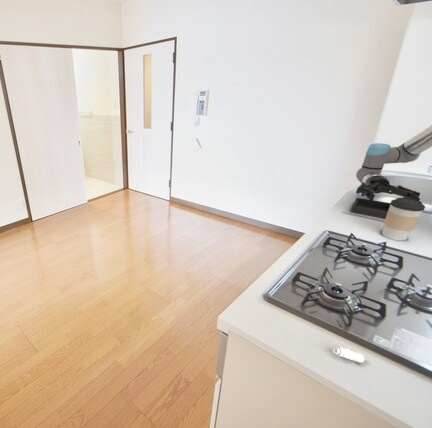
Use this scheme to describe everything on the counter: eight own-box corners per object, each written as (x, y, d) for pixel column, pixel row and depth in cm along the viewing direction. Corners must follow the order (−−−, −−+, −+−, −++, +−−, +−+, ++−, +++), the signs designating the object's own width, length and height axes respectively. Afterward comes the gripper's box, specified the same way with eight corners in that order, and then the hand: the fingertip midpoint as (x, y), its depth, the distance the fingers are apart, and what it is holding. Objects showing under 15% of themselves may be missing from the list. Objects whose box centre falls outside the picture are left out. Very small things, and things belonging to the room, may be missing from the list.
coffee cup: (410, 244, 101) (428, 206, 95) (377, 236, 107) (392, 201, 101) (410, 234, 107) (426, 198, 101) (378, 228, 113) (392, 193, 107)
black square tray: (390, 209, 127) (392, 203, 126) (389, 219, 119) (392, 213, 118) (354, 203, 136) (356, 197, 134) (350, 212, 127) (353, 205, 126)
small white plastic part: (365, 373, 59) (370, 363, 58) (330, 357, 63) (334, 347, 62) (366, 361, 62) (371, 351, 60) (332, 346, 65) (336, 337, 64)
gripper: (408, 193, 124) (433, 212, 107) (339, 187, 134) (352, 204, 117) (415, 177, 121) (442, 194, 104) (344, 173, 131) (358, 187, 114)
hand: (394, 199), depth 110 cm, fingers open, 13 cm apart
